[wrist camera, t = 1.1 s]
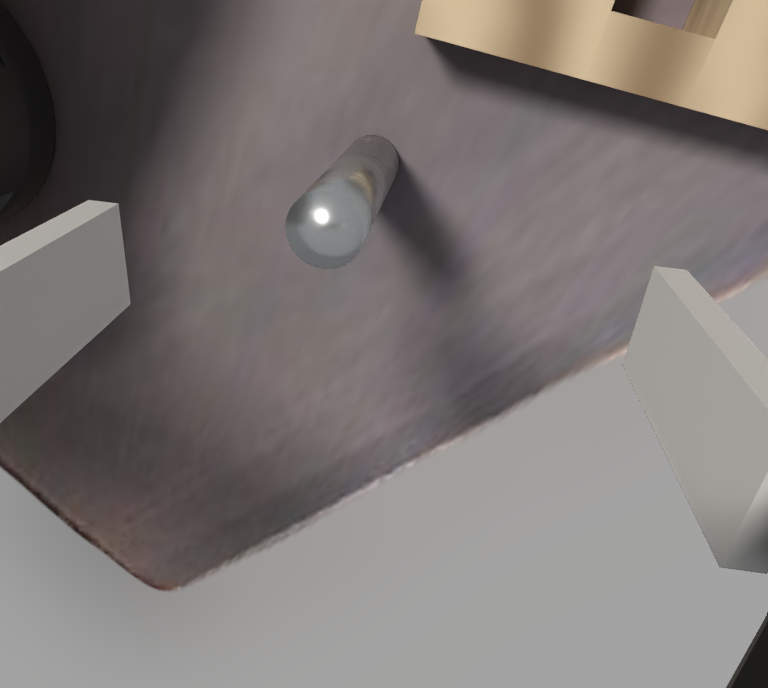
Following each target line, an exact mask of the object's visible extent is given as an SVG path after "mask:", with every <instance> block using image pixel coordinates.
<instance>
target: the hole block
mask: <svg viewBox="0 0 768 688" xmlns="http://www.w3.org/2000/svg"><path fill="white" fill-rule="evenodd" d="M614 2H615V0H422V4H421V8H420V13H419V17H418V21H417V25H416V29H415V34H419V35H422V36H426V37H430V38H433V39H437V40H440V41H444V42H448V43H451V44H455V45H459V46H462V47H466V48H470V49H473V50H477V51H481V52H484V53H488V54H491V55H495V56H499V57H502V58H506V59H510V60H513V61H517V62H521V63H524V64H528V65H532V66H535V67H539V68H543V69H546V70H550V71H553V72H557V73H561V74H564V75H568V76H572V77H575V78H579V79H583V80H586V81H590V82H594V83H597V84H601V85H605V86H608V87H612V88H615V89H619V90H623V91H626V92H630V93H634V94H637V95H641V96H645V97H648V98H652V99H656V100H659V101H663V102H666V103H670V104H674V105H677V106H681V107H685V108H688V109H692V110H696V111H699V112H703V113H707V114H710V115H714V116H718V117H721V118H725V119H728V120H732V121H736V122H739V123H743V124H747V125H750V126H754V127H758V128H761V129H765V130H768V0H695V2H694V4H693V6H692V9H691V11H690V13H689V16H688V18H687V20H686V23H685V25H684V27H683V30H679V29H676V28H672V27H669V26H665V25H661V24H658V23H654V22H650V21H647V20H643V19H639V18H636V17H632V16H628V15H625V14H621V13H618V12H614V11H611V10H612V7H613V4H614Z"/></svg>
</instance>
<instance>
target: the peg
mask: <svg viewBox="0 0 768 688" xmlns="http://www.w3.org/2000/svg"><path fill="white" fill-rule="evenodd" d="M398 169H399V157H398V154H397V151H396V149H395V148H394V146H393V145H392V144H391V143H390V142H389V141H388V140H386V139H385V138H383V137H380V136H376V135H367V136H364V137H361V138H359V139H358V140H356V141H355V142H354V143H353V144H352V145H351V146H350V147H349V148H348V149H347V150H346V151H345V152H344V153H343V154H342V155H341V156H340V157H339V158H338V159H337V160H336V161H335V162H334V163H333V164H332V165H331V166H330V168H329V169H328V170H327V171H326V172H325V173H324V174H323V175H322V176H321V177H320V178H319V179H318V180H317V181H316V182H315V183H314V184H313V185H312V186H311V187H310V188H309V189H308V190H307V191H306V192H305V193H304V194H303V195H302V196H301V197H300V198H299V199H298V200H297V201H296V202H295V203H294V204H293V206H292V207H291V209H290V210H289V213H288V215H287V219H286V226H285V227H286V236H287V239H288V242H289V244H290V246H291V248H292V250H293V251H294V252H295V254H296V255H297V256H298V257H299V258H300V259H302V260H303V261H304V262H306V263H307V264H309V265H311V266H314V267H317V268H322V269H334V268H338V267H341V266H344V265H346V264H347V263H349V262H350V261H351V260H353V259H354V258H355V256H356V255H357V254H358V252H359V251H360V249H361V247H362V244H363V242H364V240H365V238H366V236H367V234H368V232H369V230H370V228H371V226H372V224H373V222H374V220H375V218H376V216H377V214H378V212H379V210H380V208H381V206H382V204H383V202H384V200H385V197H386V195H387V193H388V191H389V189H390V187H391V185H392V183H393V181H394V179H395V177H396V175H397V173H398Z"/></svg>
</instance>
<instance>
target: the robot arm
mask: <svg viewBox="0 0 768 688" xmlns="http://www.w3.org/2000/svg"><path fill="white" fill-rule="evenodd" d="M54 145H55V122H54V113H53V107H52V102H51V97H50V93H49V90H48V86H47V83H46V80H45V77H44V75H43V72H42V69H41V67H40V65H39V63H38V60H37V58H36V56H35V54H34V52H33V50H32V48H31V46H30V45H29V43H28V41H27V40H26V38H25V36H24V35H23V33H22V32H21V30H20V29H19V27H18V26H17V24H16V23H15V22H14V20H13V19H12V18H11V16H10V15H9V14H8V12H7V11H6V10H5V9H4V8H3V7H2V5H1V4H0V220H1V219H4V218H6V217H8V216H10V215H13V214H14V213H16V212H18V211H19V210H21V209H22V208H23V207H25V206H26V205H27V204H28V203H29V202H30V201H31V200H32V199H33V198H34V197H35V196H36V194H37V193H38V192H39V190H40V189H41V187H42V185H43V184H44V182H45V180H46V177H47V175H48V172H49V170H50V167H51V163H52V159H53V153H54ZM130 304H131V302H130V293H129V285H128V277H127V269H126V261H125V252H124V244H123V236H122V228H121V220H120V211H119V203H110V202H102V201H93V200H87V201H86V202H84V203H82V204H80V205H78V206H76V207H74V208H72V209H70V210H68V211H66V212H64V213H62V214H60V215H59V216H57V217H55V218H53V219H51V220H49V221H47V222H45V223H43V224H41V225H39V226H37V227H35V228H33V229H31V230H30V231H28V232H26V233H24V234H22V235H20V236H18V237H16V238H14V239H12V240H10V241H8V242H6V243H4V244H3V245H1V246H0V423H1V422H2V421H3V420H4V419H5V418H6V417H7V416H8V415H10V414H11V413H12V412H13V411H14V410H15V409H16V408H17V407H18V406H19V405H20V404H22V403H23V402H24V401H25V400H26V399H27V398H28V397H29V396H30V395H31V394H33V393H34V392H35V391H36V390H37V389H38V388H39V387H40V386H41V385H42V384H44V383H45V382H46V381H47V380H48V379H49V378H50V377H51V376H52V375H53V374H55V373H56V372H57V371H58V370H59V369H60V368H61V367H62V366H63V365H64V364H66V363H67V362H68V361H69V360H70V359H71V358H72V357H73V356H74V355H75V354H77V353H78V352H79V351H80V350H81V349H82V348H83V347H84V346H85V345H86V344H88V343H89V342H90V341H91V340H92V339H93V338H94V337H95V336H96V335H97V334H99V333H100V332H101V331H102V330H103V329H104V328H105V327H106V326H107V325H108V324H109V323H111V322H112V321H113V320H114V319H115V318H116V317H117V316H118V315H119V314H120V313H122V312H123V311H124V310H125V309H126V308H127V307H128V306H129V305H130ZM623 367H624V369H625V371H626V373H627V376H628V378H629V380H630V382H631V384H632V386H633V388H634V390H635V392H636V394H637V396H638V398H639V401H640V402H641V405H642V407H643V409H644V411H645V413H646V415H647V417H648V419H649V421H650V423H651V426H652V428H653V430H654V432H655V433H656V436H657V438H658V440H659V442H660V444H661V446H662V448H663V450H664V452H665V455H666V457H667V459H668V461H669V463H670V465H671V467H672V469H673V471H674V473H675V475H676V477H677V480H678V481H679V484H680V486H681V488H682V490H683V492H684V494H685V496H686V498H687V500H688V502H689V504H690V506H691V509H692V511H693V513H694V515H695V517H696V519H697V521H698V523H699V525H700V527H701V529H702V532H703V534H704V536H705V538H706V539H707V542H708V544H709V546H710V548H711V550H712V552H713V554H714V556H715V559H716V561H717V562H718V564H719V567H722V568H729V569H736V570H744V571H751V572H758V573H766V574H767V572H768V359H767V358H766V357H765V356H764V355H763V354H762V352H761V351H760V350H759V349H758V348H757V347H756V346H755V345H754V344H753V343H752V341H751V340H750V339H749V338H748V337H747V336H746V335H745V334H744V333H743V331H742V330H741V329H740V328H739V327H738V326H737V325H736V324H735V323H734V322H733V321H732V319H731V318H730V317H729V316H728V315H727V314H726V313H725V312H724V311H723V309H722V308H721V307H720V306H719V305H718V304H717V303H716V302H715V301H714V299H713V298H712V297H711V296H710V295H709V294H708V293H707V292H706V291H705V290H704V288H703V287H702V286H701V285H700V284H699V283H698V282H697V281H696V280H695V279H694V277H693V276H692V275H691V274H690V273H689V272H688V271H687V270H683V269H674V268H666V267H657V266H654V268H653V272H652V275H651V278H650V281H649V284H648V287H647V290H646V293H645V296H644V300H643V303H642V306H641V309H640V312H639V315H638V318H637V321H636V325H635V328H634V331H633V334H632V337H631V340H630V343H629V346H628V349H627V353H626V356H625V359H624V362H623ZM726 688H768V613H767V616H766V618H765V620H764V621H763V624H762V625H761V627H760V629H759V630H758V632H757V634H756V636H755V637H754V639H753V641H752V643H751V645H750V646H749V648H748V650H747V652H746V653H745V655H744V657H743V659H742V660H741V663H740V664H739V666H738V668H737V670H736V671H735V673H734V675H733V677H732V679H731V680H730V682H729V684H728V685H727V687H726Z"/></svg>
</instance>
